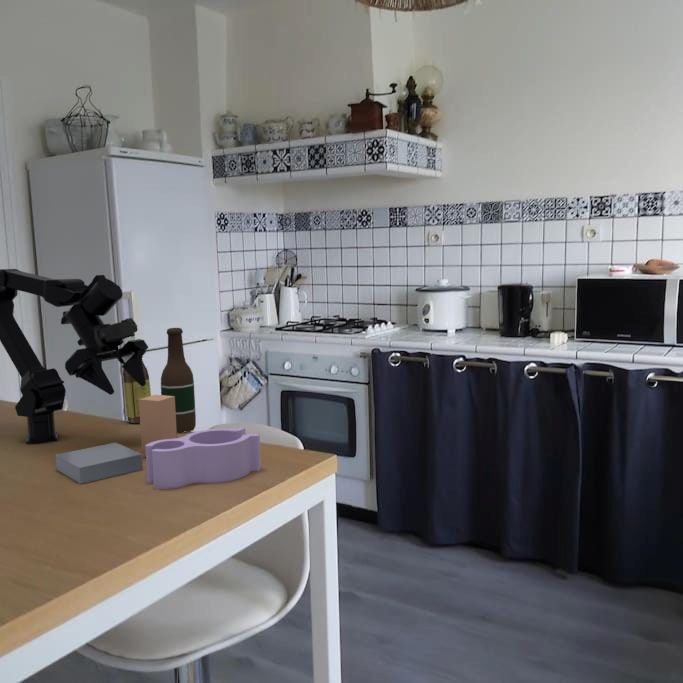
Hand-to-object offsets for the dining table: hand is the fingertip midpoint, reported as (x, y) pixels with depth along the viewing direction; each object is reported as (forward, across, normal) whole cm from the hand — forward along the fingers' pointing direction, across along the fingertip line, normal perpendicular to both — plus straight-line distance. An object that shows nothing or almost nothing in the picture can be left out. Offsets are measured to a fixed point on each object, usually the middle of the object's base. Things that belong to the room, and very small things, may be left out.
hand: (128, 389), depth 143 cm
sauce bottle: (0, +22, +22) cm, 31 cm away
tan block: (+15, 0, +2) cm, 15 cm away
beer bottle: (+9, +19, +11) cm, 23 cm away
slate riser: (+12, -12, +6) cm, 18 cm away
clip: (+25, -7, -10) cm, 28 cm away
